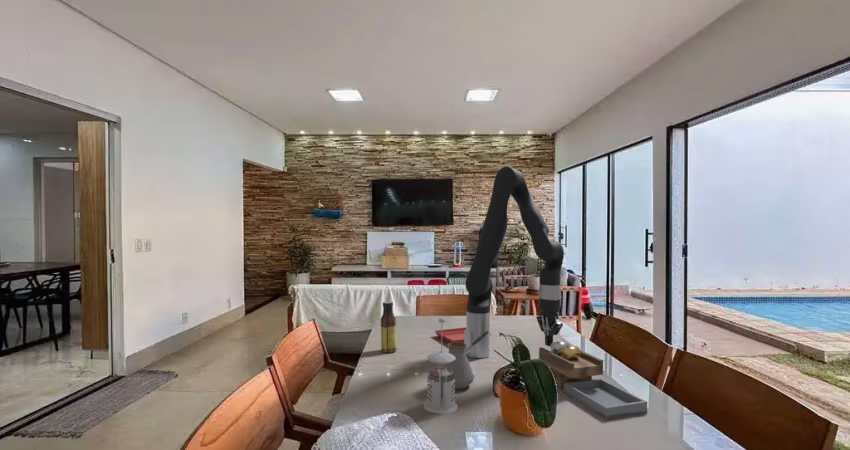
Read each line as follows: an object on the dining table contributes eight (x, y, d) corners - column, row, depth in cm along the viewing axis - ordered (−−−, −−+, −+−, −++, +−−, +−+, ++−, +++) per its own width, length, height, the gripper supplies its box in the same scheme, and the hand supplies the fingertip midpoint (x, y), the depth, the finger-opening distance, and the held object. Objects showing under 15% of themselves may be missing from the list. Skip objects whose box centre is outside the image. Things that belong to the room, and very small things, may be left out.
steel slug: (558, 354, 136) (556, 342, 137) (551, 354, 140) (549, 342, 141) (571, 353, 138) (569, 341, 139) (563, 353, 141) (562, 341, 142)
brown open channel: (570, 394, 125) (571, 363, 125) (538, 375, 141) (539, 347, 141) (602, 390, 128) (603, 360, 128) (568, 371, 144) (568, 345, 144)
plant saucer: (433, 337, 188) (433, 330, 188) (467, 333, 196) (467, 326, 196) (452, 348, 172) (452, 340, 172) (488, 343, 179) (488, 336, 179)
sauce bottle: (397, 349, 168) (398, 300, 168) (395, 353, 162) (395, 303, 162) (382, 348, 169) (382, 300, 169) (378, 353, 163) (379, 303, 163)
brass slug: (569, 357, 131) (565, 345, 133) (562, 361, 134) (558, 348, 136) (582, 356, 132) (578, 344, 134) (575, 359, 136) (571, 347, 138)
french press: (456, 398, 121) (457, 314, 121) (460, 417, 109) (462, 323, 109) (422, 398, 121) (424, 314, 121) (424, 417, 109) (425, 323, 109)
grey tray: (606, 419, 109) (606, 408, 109) (563, 392, 126) (563, 383, 126) (647, 412, 113) (647, 401, 113) (600, 387, 131) (600, 378, 131)
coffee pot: (455, 395, 124) (456, 345, 124) (431, 383, 132) (431, 337, 132) (501, 378, 137) (502, 334, 137) (476, 369, 146) (477, 327, 146)
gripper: (530, 294, 151) (529, 341, 151) (551, 300, 138) (551, 351, 138) (547, 293, 153) (546, 339, 153) (570, 299, 141) (569, 350, 141)
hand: (548, 345), depth 146 cm, fingers closed
